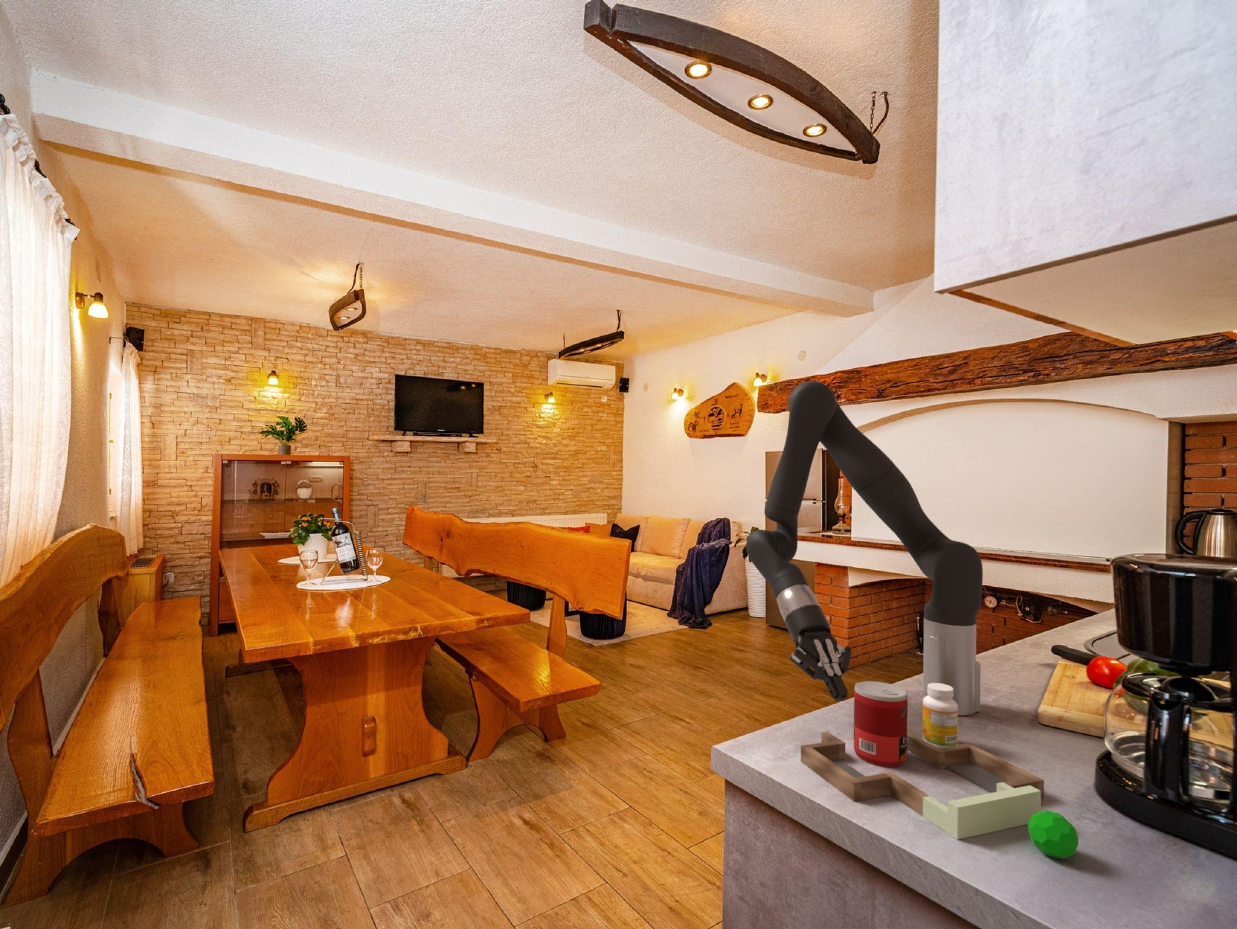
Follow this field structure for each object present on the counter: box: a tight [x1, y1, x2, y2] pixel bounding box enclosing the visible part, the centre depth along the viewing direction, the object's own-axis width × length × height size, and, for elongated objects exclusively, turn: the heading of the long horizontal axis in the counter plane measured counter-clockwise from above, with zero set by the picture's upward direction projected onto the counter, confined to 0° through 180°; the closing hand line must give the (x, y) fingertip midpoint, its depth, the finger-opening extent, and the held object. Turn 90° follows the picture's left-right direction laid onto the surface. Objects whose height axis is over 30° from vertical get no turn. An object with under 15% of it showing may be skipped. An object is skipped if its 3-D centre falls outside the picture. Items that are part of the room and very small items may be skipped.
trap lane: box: [800, 731, 1045, 817], centre depth 94 cm, size 23×27×2 cm
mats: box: [830, 758, 1007, 793], centre depth 92 cm, size 17×24×1 cm
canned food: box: [853, 680, 909, 768], centre depth 100 cm, size 8×8×11 cm
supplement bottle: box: [921, 683, 959, 748], centre depth 105 cm, size 5×5×10 cm
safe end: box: [922, 782, 1042, 840], centre depth 82 cm, size 6×14×4 cm, turn 109°
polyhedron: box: [1027, 809, 1079, 860], centre depth 74 cm, size 5×5×5 cm
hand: (841, 699), depth 108 cm, fingers closed
